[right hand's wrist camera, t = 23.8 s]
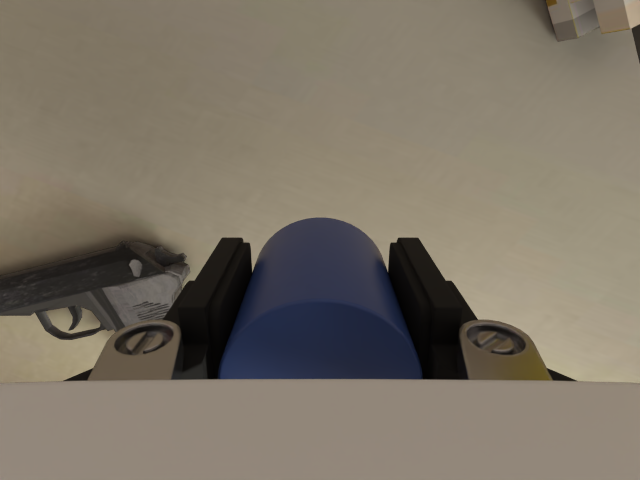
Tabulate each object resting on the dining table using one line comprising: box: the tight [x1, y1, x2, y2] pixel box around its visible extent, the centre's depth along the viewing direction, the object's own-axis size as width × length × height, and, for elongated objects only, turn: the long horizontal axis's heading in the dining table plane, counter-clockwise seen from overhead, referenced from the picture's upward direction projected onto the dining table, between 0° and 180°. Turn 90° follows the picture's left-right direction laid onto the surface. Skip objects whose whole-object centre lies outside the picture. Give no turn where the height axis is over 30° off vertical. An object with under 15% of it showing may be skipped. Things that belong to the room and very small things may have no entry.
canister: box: [218, 218, 423, 380], centre depth 10 cm, size 4×4×5 cm
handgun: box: [0, 241, 190, 340], centre depth 32 cm, size 2×17×12 cm
